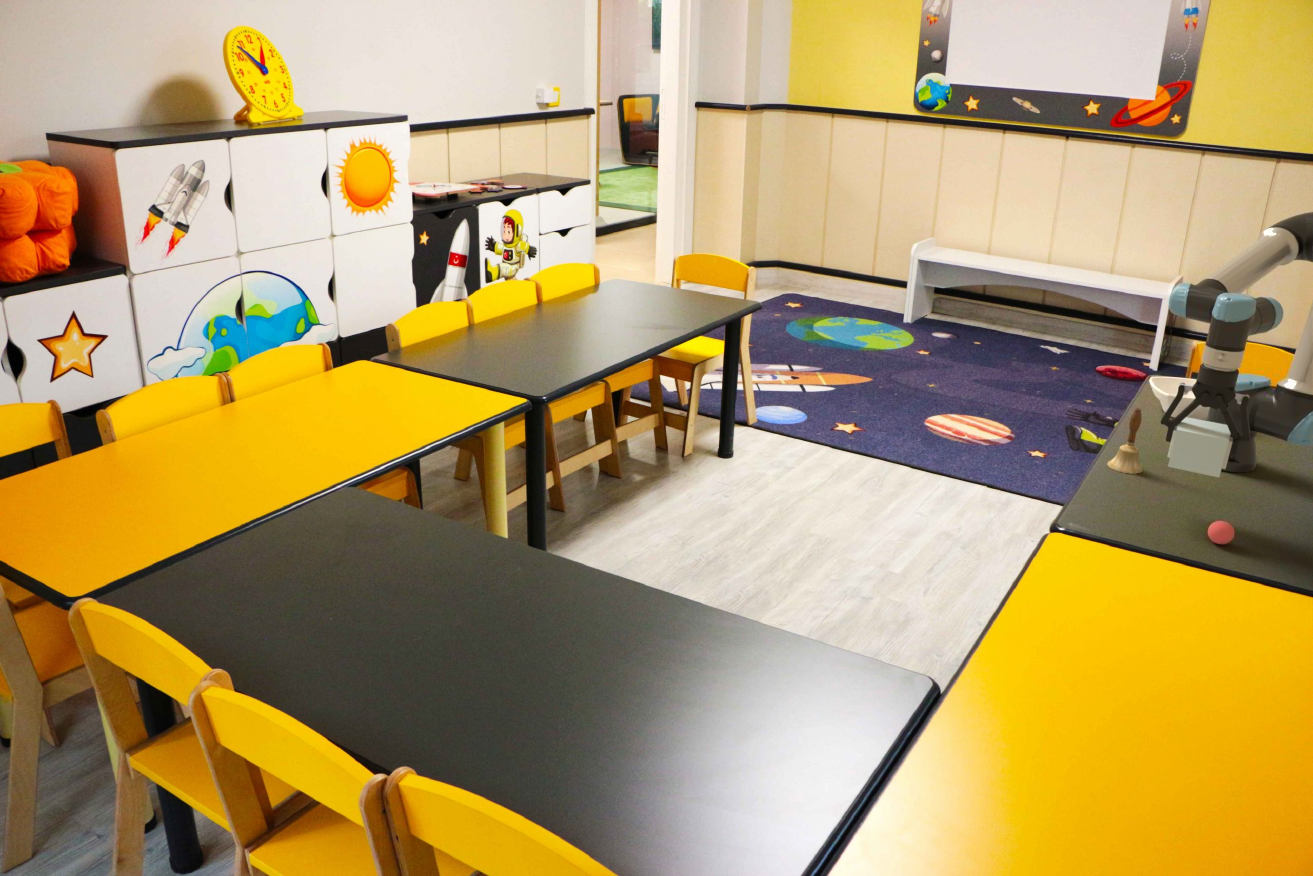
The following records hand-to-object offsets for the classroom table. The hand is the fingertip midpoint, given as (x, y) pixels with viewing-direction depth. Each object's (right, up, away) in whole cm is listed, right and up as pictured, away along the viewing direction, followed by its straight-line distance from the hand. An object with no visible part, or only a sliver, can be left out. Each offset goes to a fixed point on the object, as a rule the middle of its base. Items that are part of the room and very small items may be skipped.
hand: (1196, 461), depth 227 cm
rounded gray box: (0, -1, 0) cm, 1 cm away
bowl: (+33, +11, +70) cm, 78 cm away
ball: (+1, -15, -9) cm, 17 cm away
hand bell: (-2, -3, +30) cm, 31 cm away
